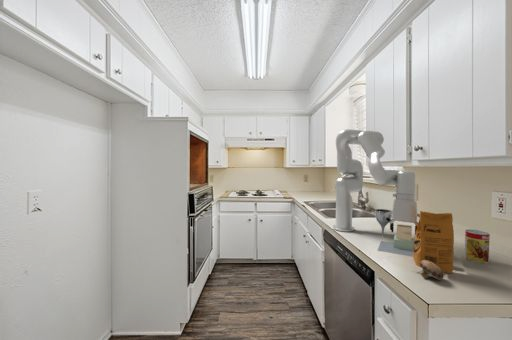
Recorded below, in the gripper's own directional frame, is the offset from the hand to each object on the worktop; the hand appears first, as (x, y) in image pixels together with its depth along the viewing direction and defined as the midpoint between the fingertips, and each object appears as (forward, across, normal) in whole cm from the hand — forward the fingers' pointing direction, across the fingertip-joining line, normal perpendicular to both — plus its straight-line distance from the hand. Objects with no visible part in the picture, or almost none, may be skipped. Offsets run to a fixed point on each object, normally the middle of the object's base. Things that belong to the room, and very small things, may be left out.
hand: (403, 233), depth 123 cm
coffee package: (+8, +10, -20) cm, 23 cm away
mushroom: (+8, +9, -30) cm, 33 cm away
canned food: (+8, +27, +2) cm, 28 cm away
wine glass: (+8, -10, +14) cm, 19 cm away
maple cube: (+2, 0, 0) cm, 3 cm away
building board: (+7, -2, -4) cm, 9 cm away
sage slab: (+6, 0, 0) cm, 6 cm away
